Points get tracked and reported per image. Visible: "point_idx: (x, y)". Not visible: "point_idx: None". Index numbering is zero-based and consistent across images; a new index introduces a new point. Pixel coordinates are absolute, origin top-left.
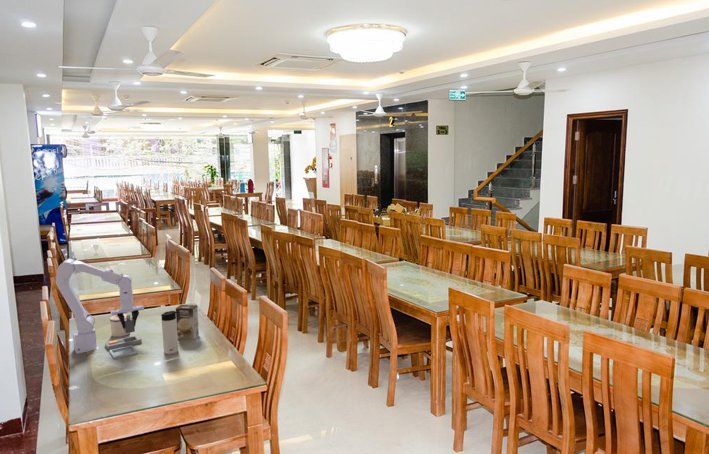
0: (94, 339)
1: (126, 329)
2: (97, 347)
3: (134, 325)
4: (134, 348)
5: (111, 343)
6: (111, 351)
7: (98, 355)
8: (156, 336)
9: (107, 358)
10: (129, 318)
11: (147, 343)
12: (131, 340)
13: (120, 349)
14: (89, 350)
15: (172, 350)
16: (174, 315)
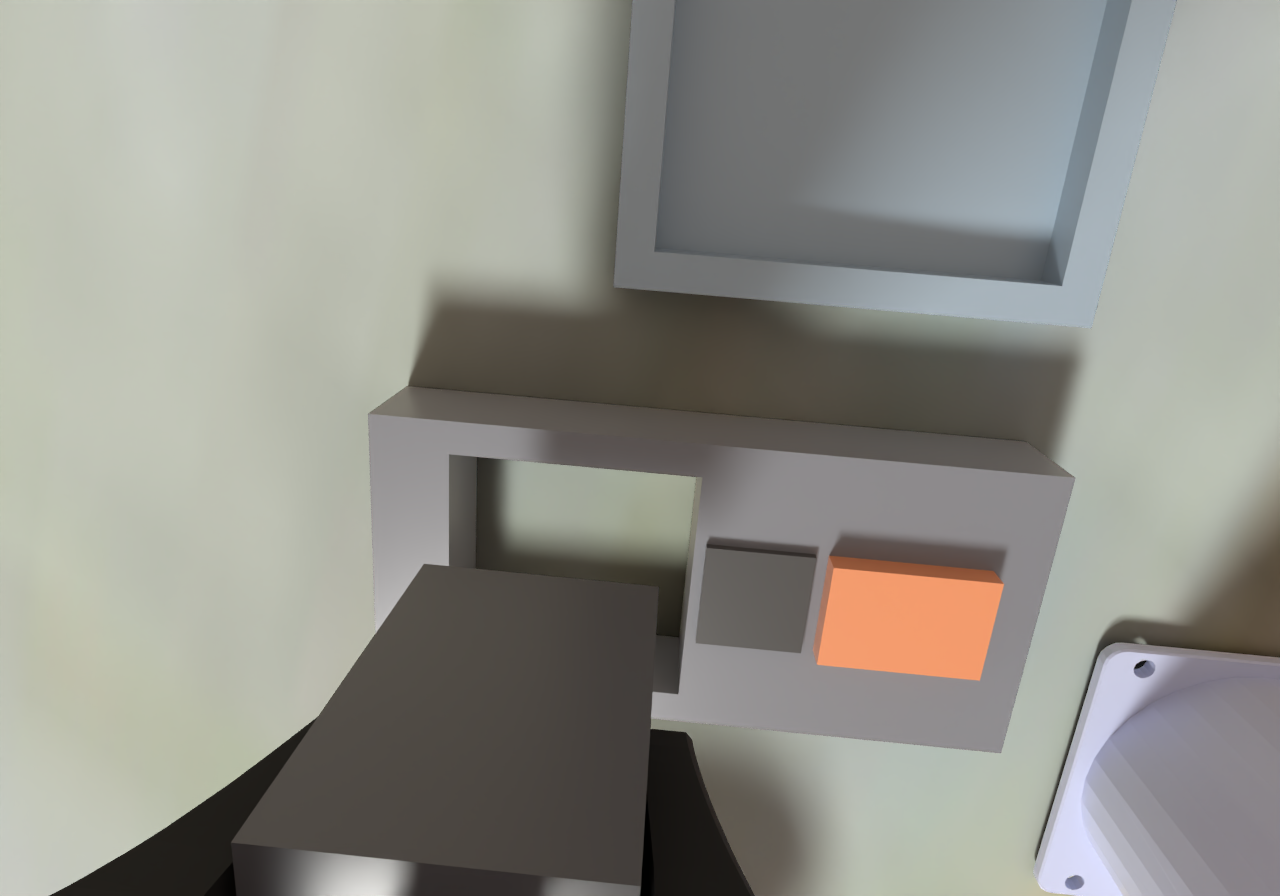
0: (1274, 839)
1: (629, 648)
2: (1100, 723)
3: None
4: (640, 16)
5: (959, 574)
6: (1097, 212)
7: (1246, 371)
8: (101, 586)
9: (1218, 53)
10: None
11: (309, 346)
12: None
13: (869, 269)
14: (1268, 679)
15: None
16: None
